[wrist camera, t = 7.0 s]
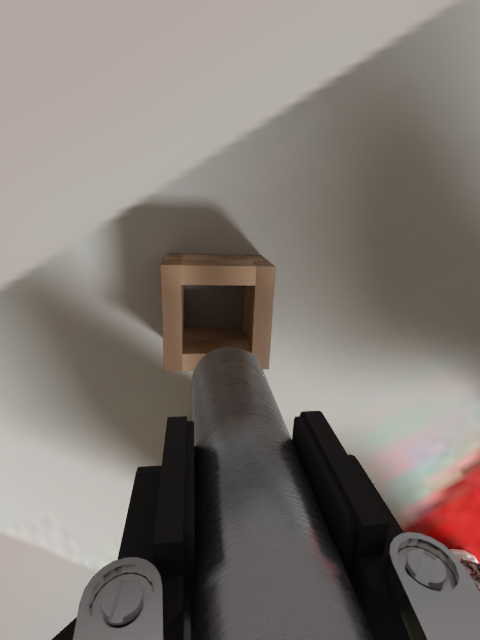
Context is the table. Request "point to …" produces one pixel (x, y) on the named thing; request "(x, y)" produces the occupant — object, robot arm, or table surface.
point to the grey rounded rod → (259, 519)
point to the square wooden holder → (195, 343)
